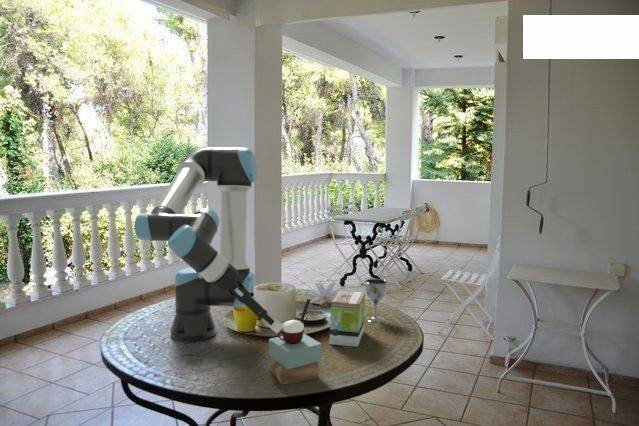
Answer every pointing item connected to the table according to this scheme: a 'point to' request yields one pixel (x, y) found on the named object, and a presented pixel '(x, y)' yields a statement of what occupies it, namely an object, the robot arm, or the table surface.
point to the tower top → (295, 352)
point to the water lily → (324, 293)
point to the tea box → (347, 318)
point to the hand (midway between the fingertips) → (272, 321)
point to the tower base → (294, 372)
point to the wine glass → (376, 296)
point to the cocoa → (294, 328)
